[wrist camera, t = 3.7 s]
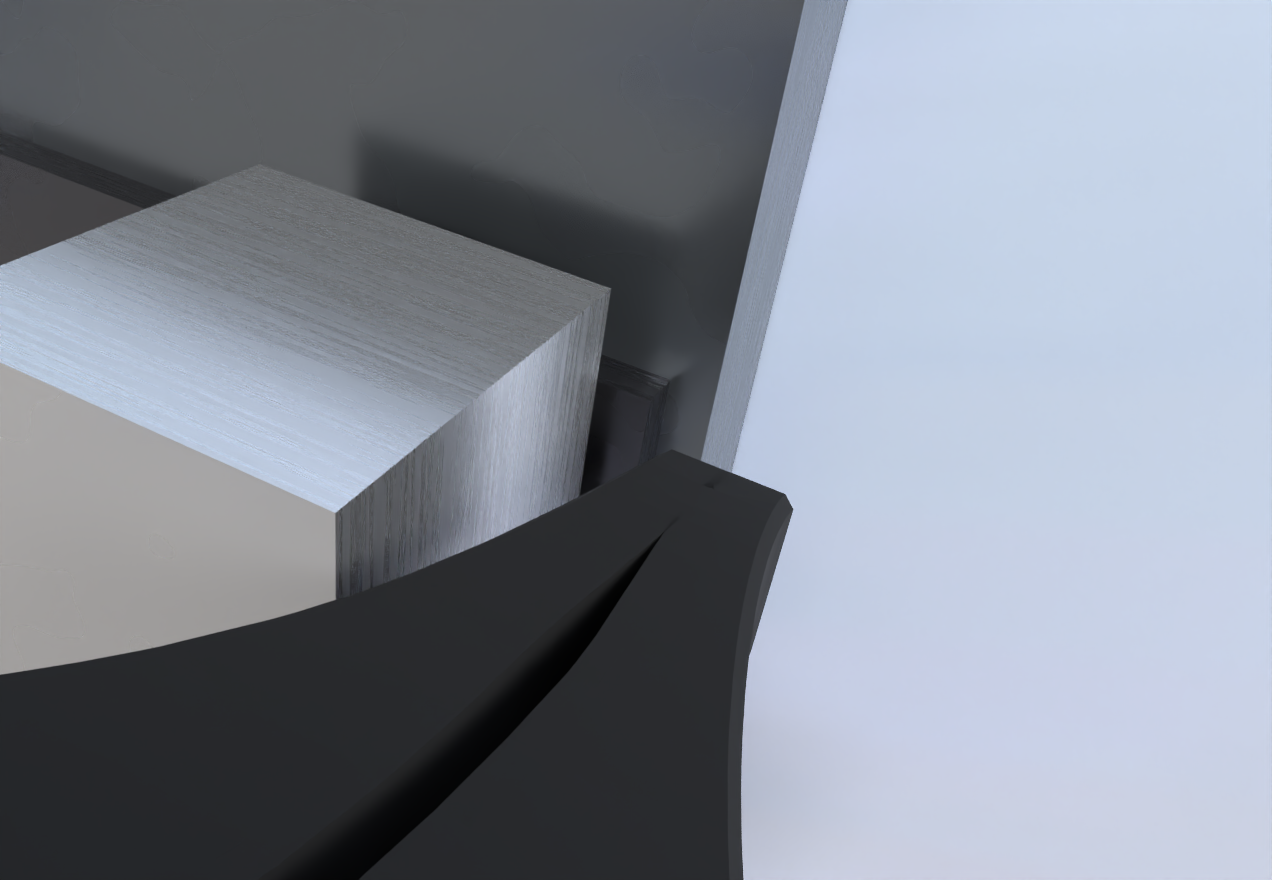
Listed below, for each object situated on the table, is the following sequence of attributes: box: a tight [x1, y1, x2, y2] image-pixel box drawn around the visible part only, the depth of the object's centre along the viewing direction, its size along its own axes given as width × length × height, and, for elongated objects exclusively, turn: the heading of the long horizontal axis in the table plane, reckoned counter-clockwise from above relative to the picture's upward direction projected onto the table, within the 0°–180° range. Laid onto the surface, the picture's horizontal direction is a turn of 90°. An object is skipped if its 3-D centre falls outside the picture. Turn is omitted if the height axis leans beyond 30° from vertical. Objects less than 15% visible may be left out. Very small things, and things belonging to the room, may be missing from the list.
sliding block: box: [0, 164, 611, 675], centre depth 11 cm, size 6×4×4 cm, turn 171°
